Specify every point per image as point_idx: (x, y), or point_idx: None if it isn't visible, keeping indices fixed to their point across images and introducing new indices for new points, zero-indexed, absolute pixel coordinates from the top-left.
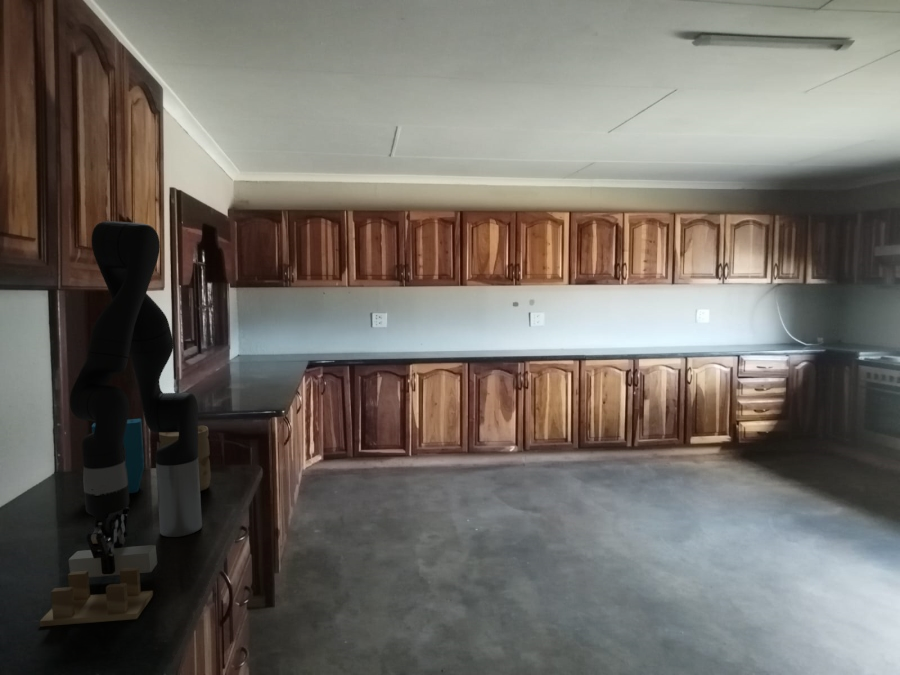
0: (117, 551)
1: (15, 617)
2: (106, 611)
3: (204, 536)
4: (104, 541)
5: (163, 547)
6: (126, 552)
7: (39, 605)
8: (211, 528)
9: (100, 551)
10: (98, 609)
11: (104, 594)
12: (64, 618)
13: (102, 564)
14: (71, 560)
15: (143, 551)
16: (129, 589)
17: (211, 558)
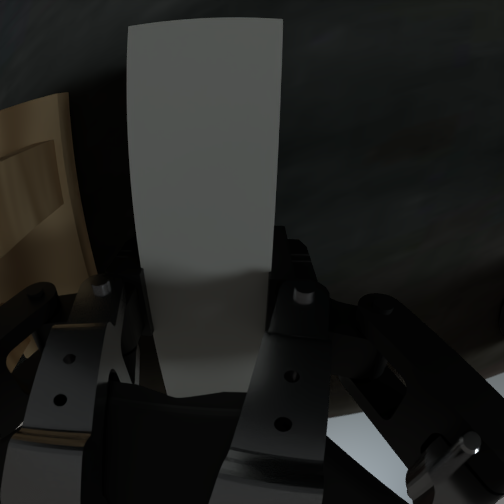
0: (210, 331)
1: (6, 5)
2: (9, 294)
3: (470, 360)
4: (1, 430)
5: (463, 288)
6: (190, 374)
7: (59, 17)
8: (500, 354)
9: (39, 342)
10: (9, 270)
11: (77, 251)
12: None
13: (114, 265)
14: (132, 47)
15: None
16: None
17: (329, 416)
